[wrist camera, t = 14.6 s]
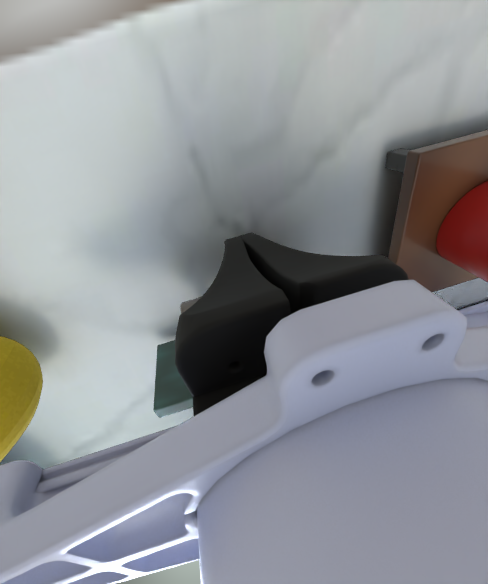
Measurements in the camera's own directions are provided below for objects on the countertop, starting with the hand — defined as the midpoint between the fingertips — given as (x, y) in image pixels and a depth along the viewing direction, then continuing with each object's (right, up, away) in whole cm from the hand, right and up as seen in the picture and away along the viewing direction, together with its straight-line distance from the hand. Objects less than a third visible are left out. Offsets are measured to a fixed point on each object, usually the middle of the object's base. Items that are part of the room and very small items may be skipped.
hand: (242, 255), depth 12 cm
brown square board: (+12, +3, +4) cm, 13 cm away
